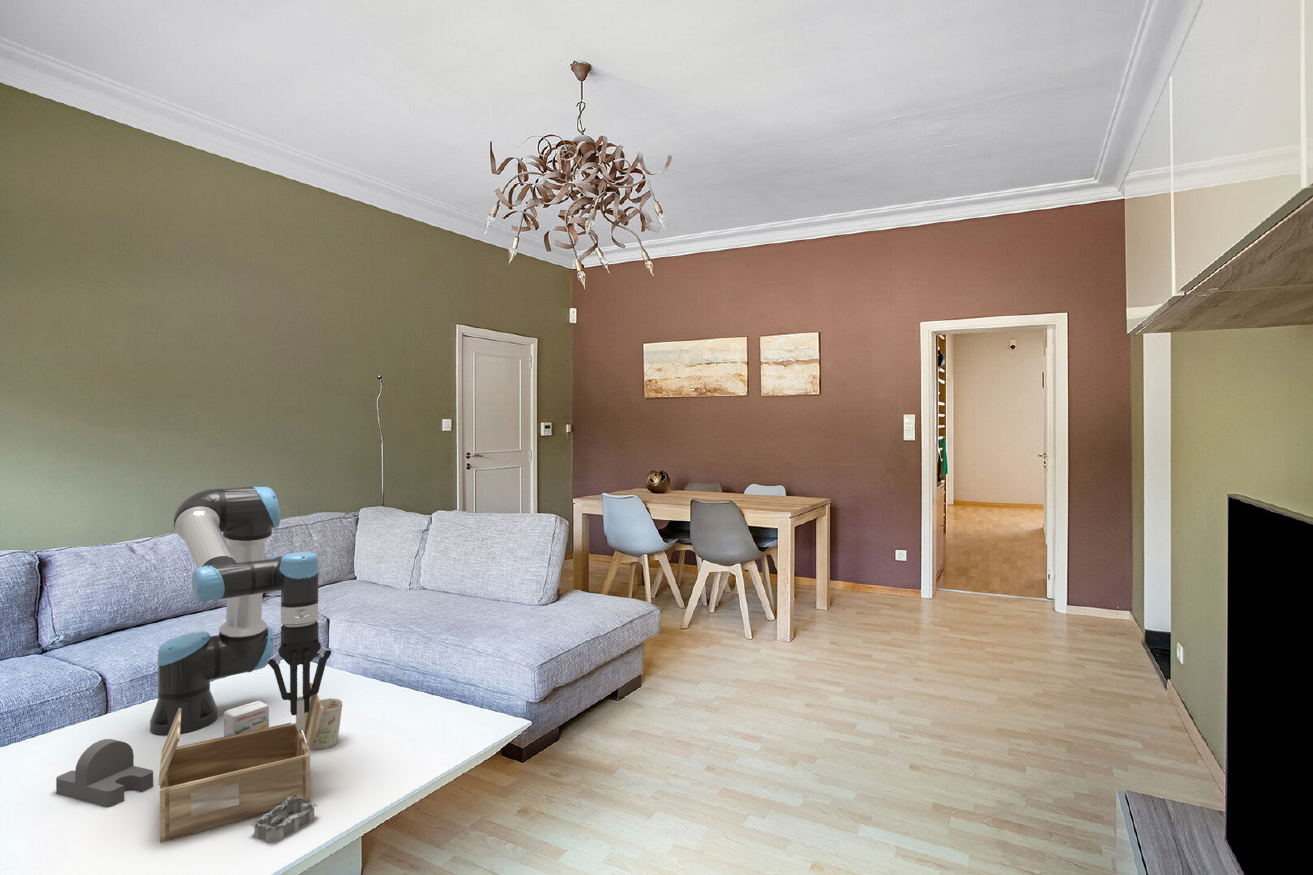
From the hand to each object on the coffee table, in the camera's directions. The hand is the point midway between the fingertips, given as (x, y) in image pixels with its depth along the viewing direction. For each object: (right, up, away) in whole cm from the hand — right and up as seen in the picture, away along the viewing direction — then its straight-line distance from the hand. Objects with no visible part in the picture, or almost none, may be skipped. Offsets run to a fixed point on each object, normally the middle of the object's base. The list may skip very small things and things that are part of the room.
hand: (300, 727), depth 154 cm
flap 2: (+1, +2, +1) cm, 3 cm away
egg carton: (+6, -13, -17) cm, 22 cm away
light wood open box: (-10, -13, -6) cm, 17 cm away
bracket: (-42, -13, -2) cm, 44 cm away
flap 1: (-20, +2, -13) cm, 24 cm away
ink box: (-20, -13, +14) cm, 27 cm away
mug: (-5, -13, +18) cm, 22 cm away
